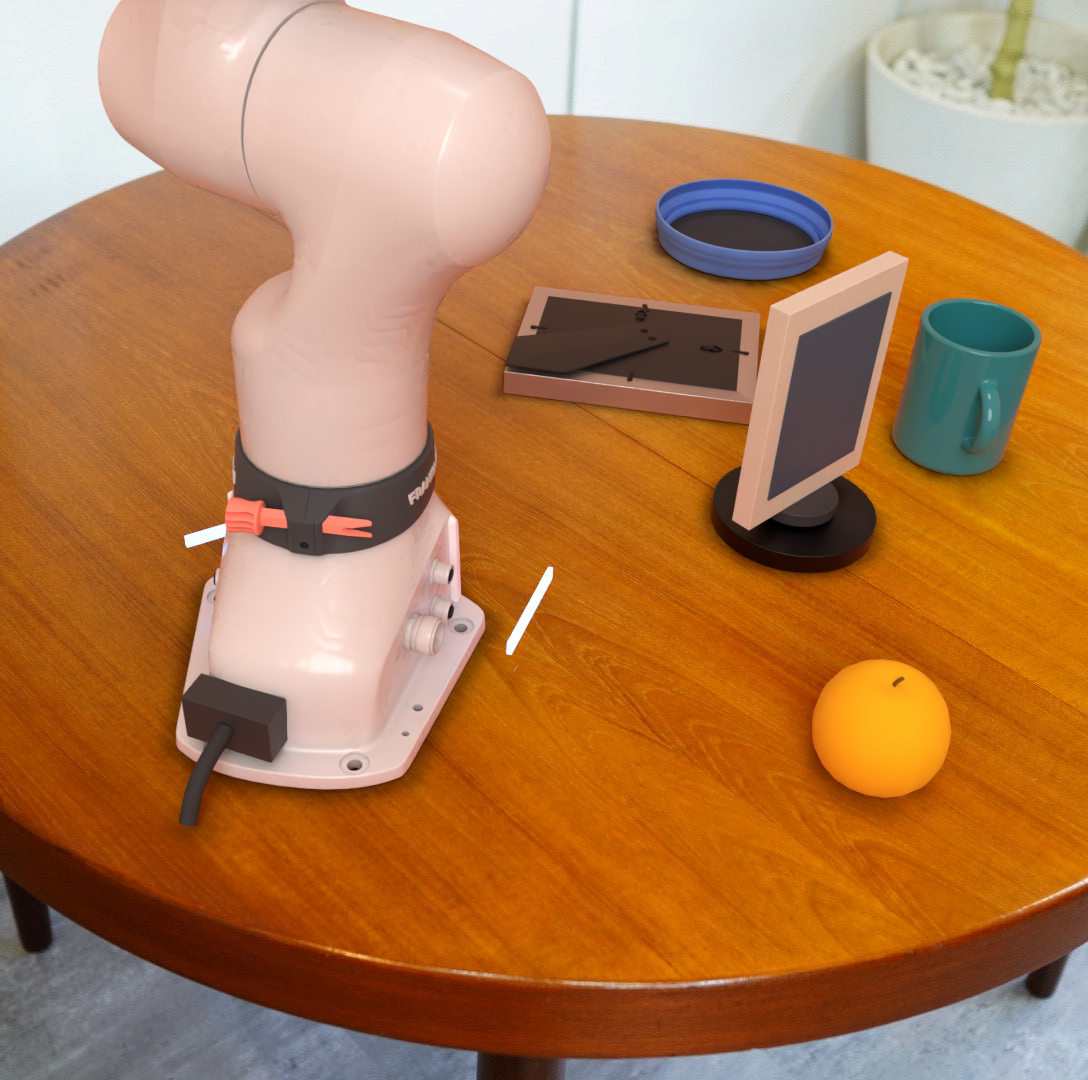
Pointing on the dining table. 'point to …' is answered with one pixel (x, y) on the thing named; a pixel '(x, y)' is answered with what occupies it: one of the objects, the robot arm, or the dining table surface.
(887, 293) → the photo frame
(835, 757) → the orange
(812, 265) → the bowl
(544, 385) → the picture frame
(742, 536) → the swivel base
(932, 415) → the cup
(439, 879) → the dining table surface
